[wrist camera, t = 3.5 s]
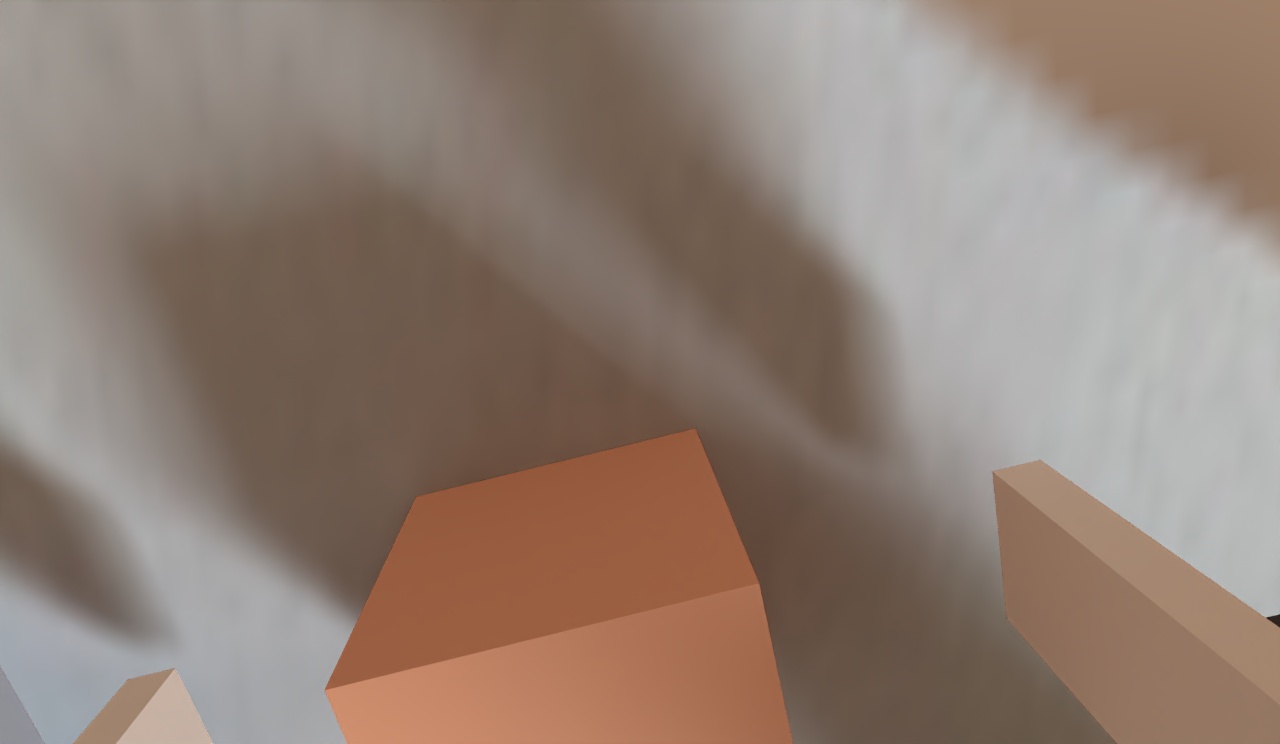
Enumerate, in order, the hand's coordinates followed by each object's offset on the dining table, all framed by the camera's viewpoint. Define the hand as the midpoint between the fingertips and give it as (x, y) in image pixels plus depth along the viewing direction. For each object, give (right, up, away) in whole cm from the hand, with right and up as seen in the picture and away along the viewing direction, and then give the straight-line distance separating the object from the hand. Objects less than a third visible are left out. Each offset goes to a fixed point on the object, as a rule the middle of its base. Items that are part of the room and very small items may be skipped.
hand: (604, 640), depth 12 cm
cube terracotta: (0, 0, +2) cm, 2 cm away
